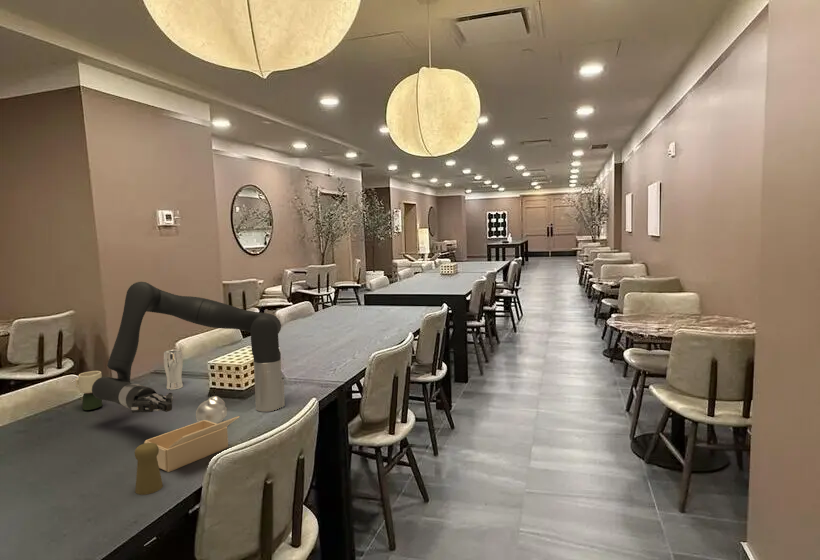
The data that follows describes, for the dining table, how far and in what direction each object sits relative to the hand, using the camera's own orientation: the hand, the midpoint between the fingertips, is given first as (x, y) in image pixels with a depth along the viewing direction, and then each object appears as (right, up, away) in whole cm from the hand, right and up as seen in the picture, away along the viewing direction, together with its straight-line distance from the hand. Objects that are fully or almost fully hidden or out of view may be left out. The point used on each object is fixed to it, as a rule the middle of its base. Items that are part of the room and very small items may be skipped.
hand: (169, 407), depth 145 cm
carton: (+7, -12, -4) cm, 15 cm away
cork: (+6, -14, -22) cm, 27 cm away
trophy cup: (-45, -10, +36) cm, 58 cm away
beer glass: (-26, -7, +60) cm, 66 cm away
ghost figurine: (+6, -11, +17) cm, 21 cm away
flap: (+12, -6, -7) cm, 15 cm away
